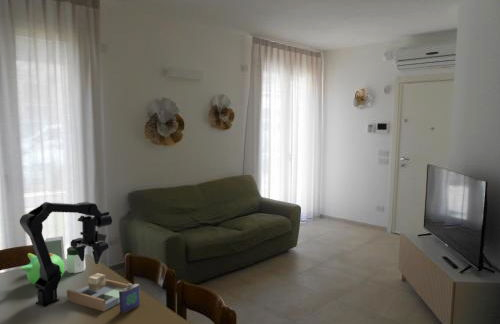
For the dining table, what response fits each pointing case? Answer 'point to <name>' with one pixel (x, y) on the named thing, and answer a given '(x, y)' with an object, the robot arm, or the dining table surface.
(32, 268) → the toy bird
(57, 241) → the skincare box
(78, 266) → the jar
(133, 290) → the blue green box
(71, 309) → the dining table surface
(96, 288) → the block
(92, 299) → the box
